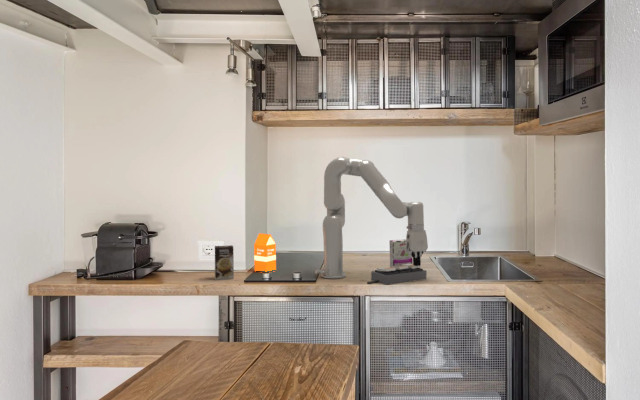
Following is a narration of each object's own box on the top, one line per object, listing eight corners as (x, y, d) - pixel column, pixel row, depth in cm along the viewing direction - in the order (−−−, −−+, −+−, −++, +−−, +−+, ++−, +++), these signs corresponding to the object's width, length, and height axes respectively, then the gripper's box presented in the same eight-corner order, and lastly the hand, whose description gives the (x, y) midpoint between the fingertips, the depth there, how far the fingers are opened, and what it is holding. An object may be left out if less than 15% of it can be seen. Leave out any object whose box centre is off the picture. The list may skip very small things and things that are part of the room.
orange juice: (266, 273, 233) (265, 235, 232) (254, 271, 238) (253, 234, 237) (276, 270, 239) (275, 233, 238) (264, 268, 244) (263, 232, 243)
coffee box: (215, 280, 218) (214, 247, 217) (214, 277, 224) (214, 245, 223) (234, 279, 220) (233, 246, 220) (233, 276, 227) (232, 244, 226)
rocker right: (412, 268, 214) (412, 265, 214) (402, 266, 221) (401, 264, 221) (420, 267, 216) (420, 264, 216) (409, 265, 223) (409, 263, 223)
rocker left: (387, 271, 207) (386, 268, 207) (377, 270, 214) (376, 267, 214) (395, 270, 209) (395, 267, 209) (385, 269, 216) (385, 266, 217)
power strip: (374, 286, 202) (374, 276, 201) (360, 281, 212) (359, 271, 212) (426, 278, 216) (426, 269, 216) (410, 274, 226) (410, 264, 226)
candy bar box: (408, 269, 239) (408, 238, 238) (412, 271, 234) (412, 240, 233) (389, 270, 236) (389, 239, 235) (393, 272, 231) (393, 241, 230)
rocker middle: (399, 269, 211) (399, 266, 211) (389, 269, 218) (389, 266, 218) (408, 268, 213) (408, 265, 213) (398, 268, 220) (397, 265, 220)
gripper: (408, 229, 208) (409, 268, 209) (433, 226, 215) (434, 264, 216) (398, 228, 214) (399, 266, 215) (423, 225, 221) (424, 262, 222)
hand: (416, 265), depth 215 cm, fingers closed
